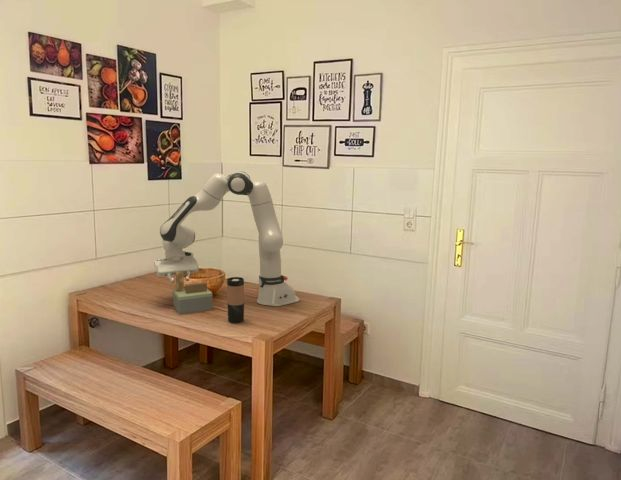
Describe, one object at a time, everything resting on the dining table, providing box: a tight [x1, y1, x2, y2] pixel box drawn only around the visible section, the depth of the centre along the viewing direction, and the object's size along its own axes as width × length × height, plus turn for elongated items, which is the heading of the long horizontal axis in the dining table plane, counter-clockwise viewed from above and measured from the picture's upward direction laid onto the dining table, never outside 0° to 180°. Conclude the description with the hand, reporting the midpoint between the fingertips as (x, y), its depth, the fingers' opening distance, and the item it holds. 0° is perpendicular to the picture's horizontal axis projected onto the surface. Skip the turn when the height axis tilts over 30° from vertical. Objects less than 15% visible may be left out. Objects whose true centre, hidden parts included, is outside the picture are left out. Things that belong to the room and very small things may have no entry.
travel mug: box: [226, 276, 245, 324], centre depth 216 cm, size 8×8×20 cm
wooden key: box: [175, 272, 185, 292], centre depth 231 cm, size 3×3×18 cm
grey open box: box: [172, 292, 214, 315], centre depth 231 cm, size 16×14×8 cm
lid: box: [172, 282, 213, 300], centre depth 230 cm, size 16×14×6 cm
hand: (180, 281), depth 230 cm, fingers open, 6 cm apart
